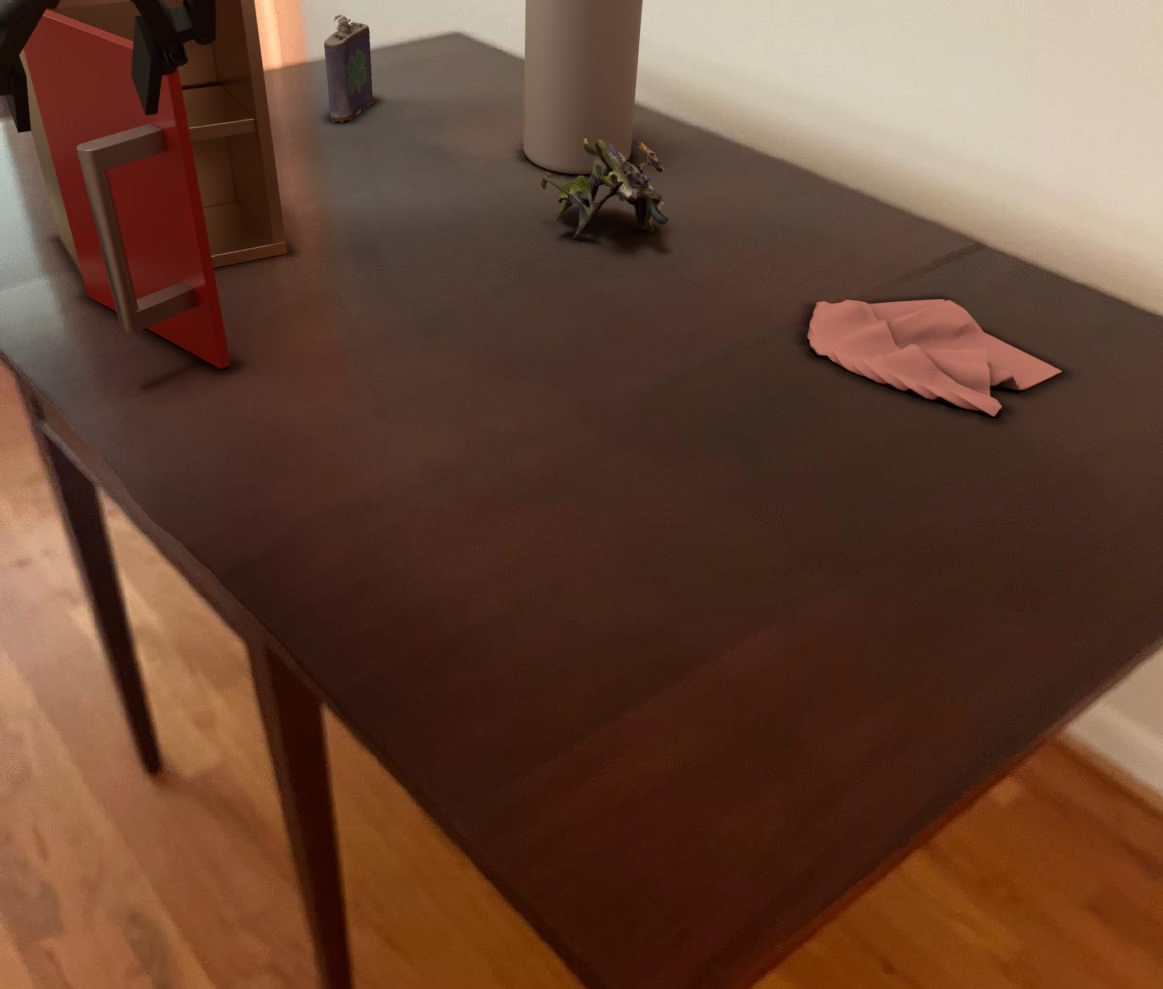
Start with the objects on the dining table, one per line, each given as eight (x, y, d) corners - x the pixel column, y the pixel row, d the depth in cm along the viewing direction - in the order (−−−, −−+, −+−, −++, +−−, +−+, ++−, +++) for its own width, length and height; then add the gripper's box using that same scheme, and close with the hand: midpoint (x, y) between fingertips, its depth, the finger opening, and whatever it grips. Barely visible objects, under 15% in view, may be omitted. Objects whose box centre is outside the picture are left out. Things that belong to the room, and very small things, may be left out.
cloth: (785, 300, 107) (789, 276, 106) (1005, 300, 109) (1013, 277, 108) (841, 419, 92) (847, 394, 90) (1096, 417, 94) (1106, 392, 93)
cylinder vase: (646, 171, 129) (668, -76, 113) (543, 181, 126) (550, -73, 109) (607, 132, 138) (622, -103, 121) (509, 140, 134) (511, -101, 118)
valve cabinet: (287, 253, 109) (251, -25, 93) (90, 292, 102) (14, -4, 85) (246, 206, 117) (206, -59, 101) (60, 239, 109) (-16, -42, 93)
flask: (345, 124, 136) (336, 28, 128) (323, 120, 136) (313, 25, 129) (378, 100, 142) (371, 8, 135) (356, 97, 143) (349, 5, 136)
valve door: (156, 400, 89) (82, 81, 73) (22, 321, 97) (-71, 18, 81) (230, 364, 93) (176, 57, 77) (97, 292, 101) (23, 0, 85)
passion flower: (636, 277, 121) (699, 211, 111) (551, 280, 115) (610, 210, 105) (603, 186, 123) (661, 113, 113) (518, 184, 117) (572, 107, 107)
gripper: (-144, -64, 45) (-73, 186, 66) (327, -94, 53) (258, 136, 74) (-210, -245, 45) (-117, 63, 66) (273, -247, 53) (219, 27, 74)
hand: (82, 102), depth 70 cm, fingers open, 7 cm apart
